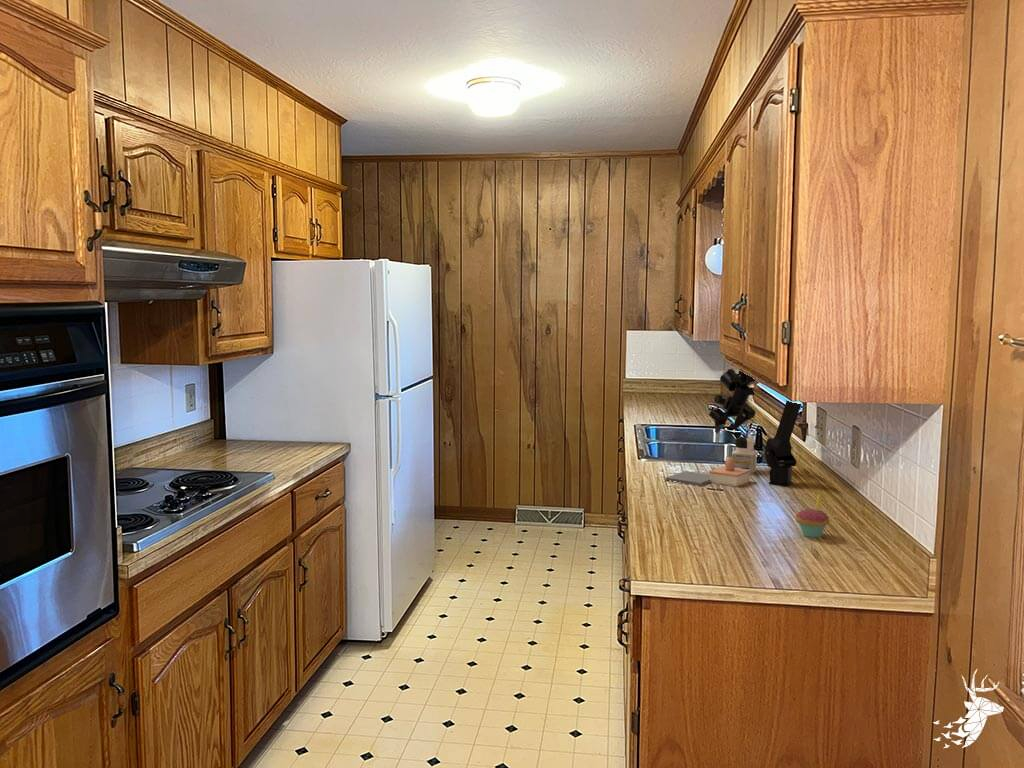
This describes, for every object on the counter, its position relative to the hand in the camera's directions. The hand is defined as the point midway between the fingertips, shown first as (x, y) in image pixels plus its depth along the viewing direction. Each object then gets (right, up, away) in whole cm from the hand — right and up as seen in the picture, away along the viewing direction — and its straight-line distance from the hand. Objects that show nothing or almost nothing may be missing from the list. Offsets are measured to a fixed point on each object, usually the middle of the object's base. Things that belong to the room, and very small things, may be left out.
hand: (725, 431), depth 294 cm
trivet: (-17, -17, -18) cm, 30 cm away
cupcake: (0, -23, -86) cm, 89 cm away
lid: (-5, -13, -23) cm, 27 cm away
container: (+6, -15, -5) cm, 17 cm away
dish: (-5, -17, -23) cm, 29 cm away
